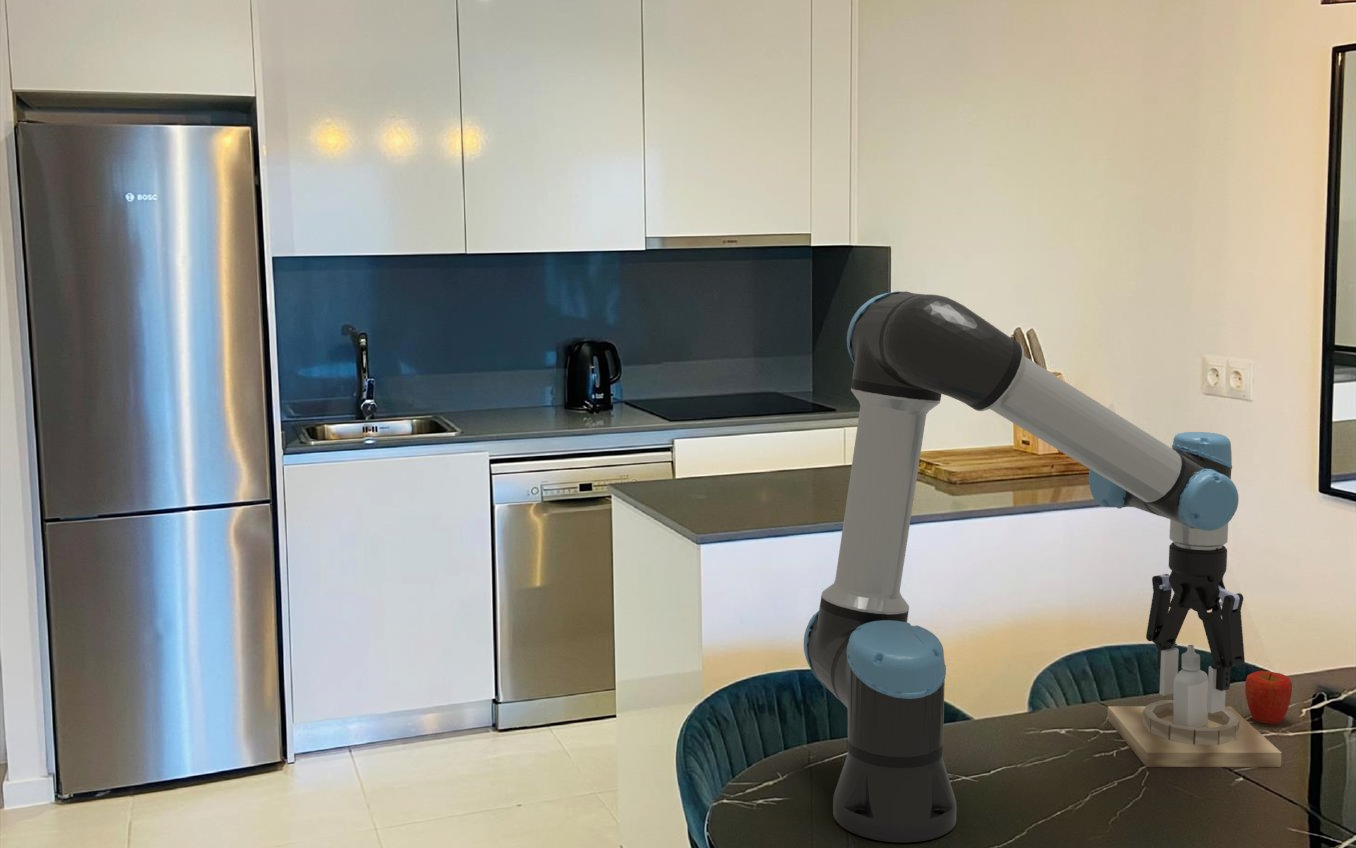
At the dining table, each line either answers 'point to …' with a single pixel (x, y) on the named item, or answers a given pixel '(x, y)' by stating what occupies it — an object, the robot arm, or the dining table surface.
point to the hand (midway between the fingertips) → (1191, 701)
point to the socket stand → (1192, 738)
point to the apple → (1268, 696)
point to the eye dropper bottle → (1190, 692)
